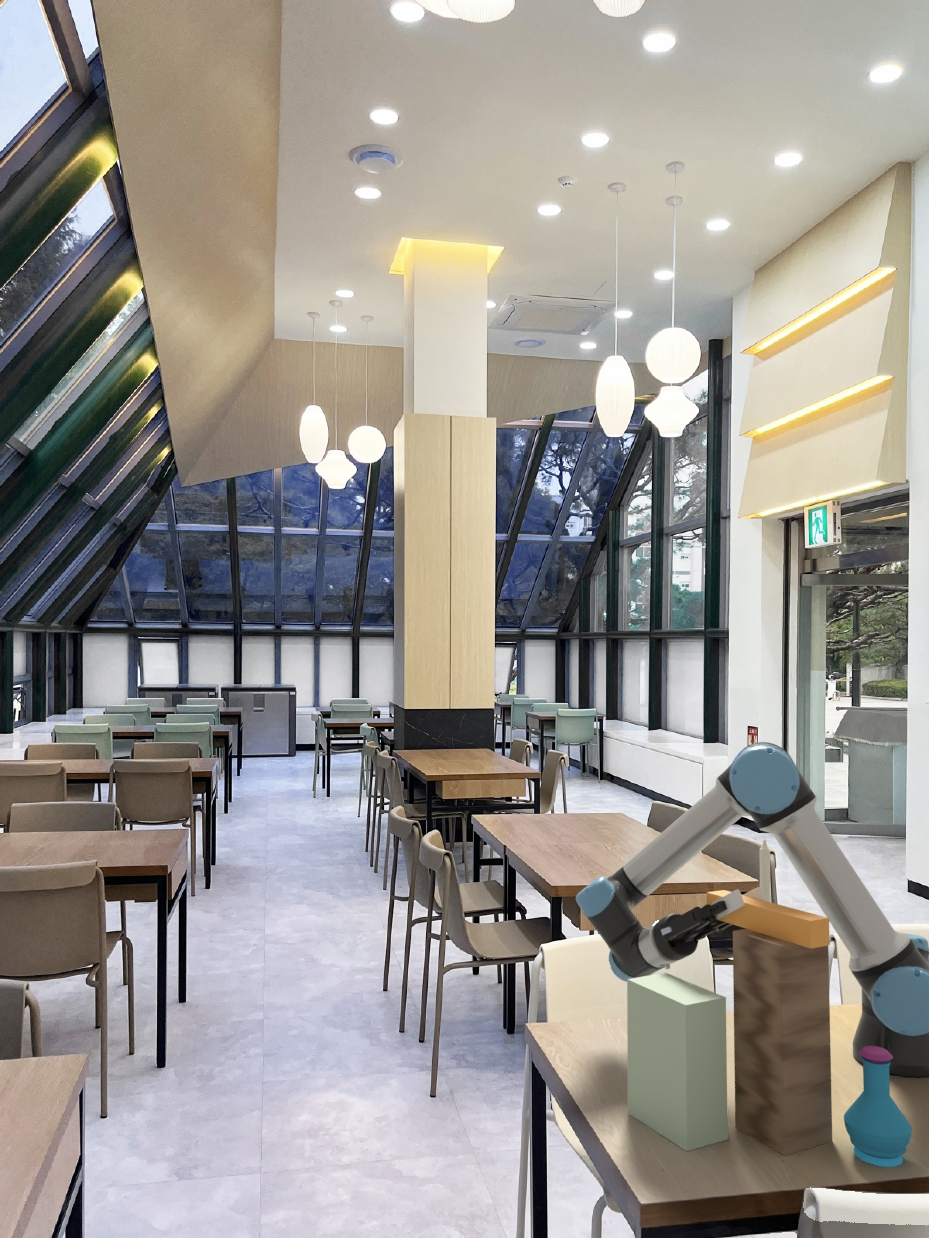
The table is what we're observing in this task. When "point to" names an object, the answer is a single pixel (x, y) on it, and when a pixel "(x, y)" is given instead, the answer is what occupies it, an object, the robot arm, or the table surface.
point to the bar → (777, 921)
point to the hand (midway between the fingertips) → (751, 896)
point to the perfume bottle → (877, 1114)
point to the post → (781, 1042)
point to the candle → (765, 871)
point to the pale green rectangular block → (677, 1059)
